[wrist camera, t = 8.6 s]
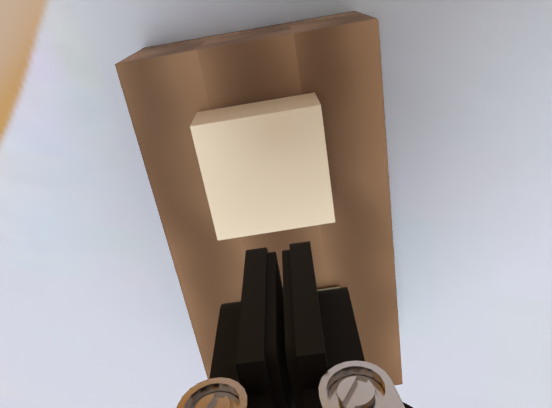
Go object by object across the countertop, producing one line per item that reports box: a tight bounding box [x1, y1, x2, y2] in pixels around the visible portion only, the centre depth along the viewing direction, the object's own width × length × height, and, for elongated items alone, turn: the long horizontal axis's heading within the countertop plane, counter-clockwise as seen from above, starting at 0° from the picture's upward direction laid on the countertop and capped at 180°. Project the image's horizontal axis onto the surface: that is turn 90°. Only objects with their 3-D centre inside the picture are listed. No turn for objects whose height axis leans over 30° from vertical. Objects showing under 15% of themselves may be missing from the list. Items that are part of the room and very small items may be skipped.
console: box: [115, 11, 402, 385], centre depth 29 cm, size 12×22×6 cm, turn 9°
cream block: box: [190, 92, 335, 241], centre depth 25 cm, size 6×6×7 cm
